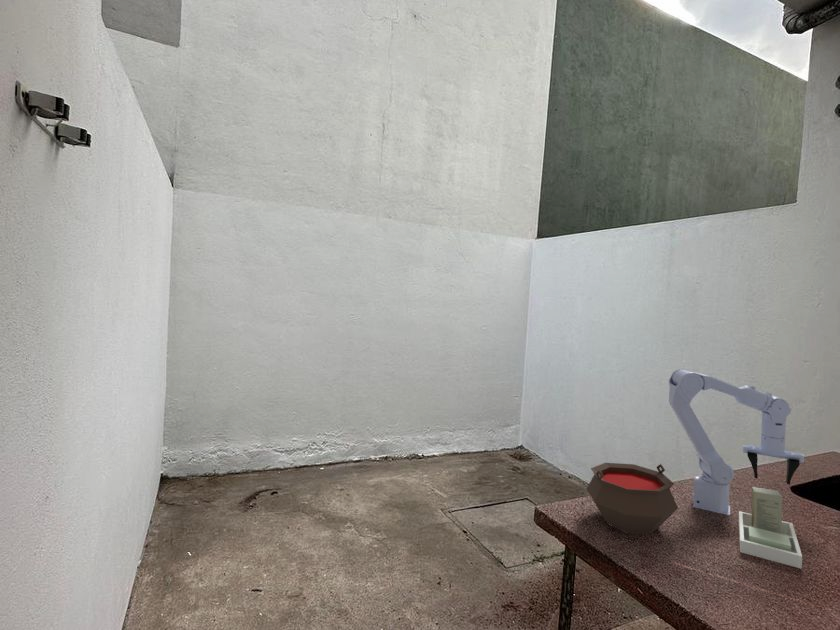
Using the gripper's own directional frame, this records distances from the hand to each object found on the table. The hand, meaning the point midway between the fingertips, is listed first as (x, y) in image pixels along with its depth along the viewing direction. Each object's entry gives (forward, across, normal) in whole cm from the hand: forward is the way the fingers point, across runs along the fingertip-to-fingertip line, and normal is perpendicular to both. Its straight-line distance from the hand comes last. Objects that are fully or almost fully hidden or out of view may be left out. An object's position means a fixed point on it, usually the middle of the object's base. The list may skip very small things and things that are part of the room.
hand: (771, 480), depth 136 cm
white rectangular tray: (+10, +2, +23) cm, 25 cm away
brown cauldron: (+10, +34, +32) cm, 48 cm away
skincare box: (+10, +2, +18) cm, 21 cm away
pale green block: (+10, +2, +28) cm, 30 cm away
